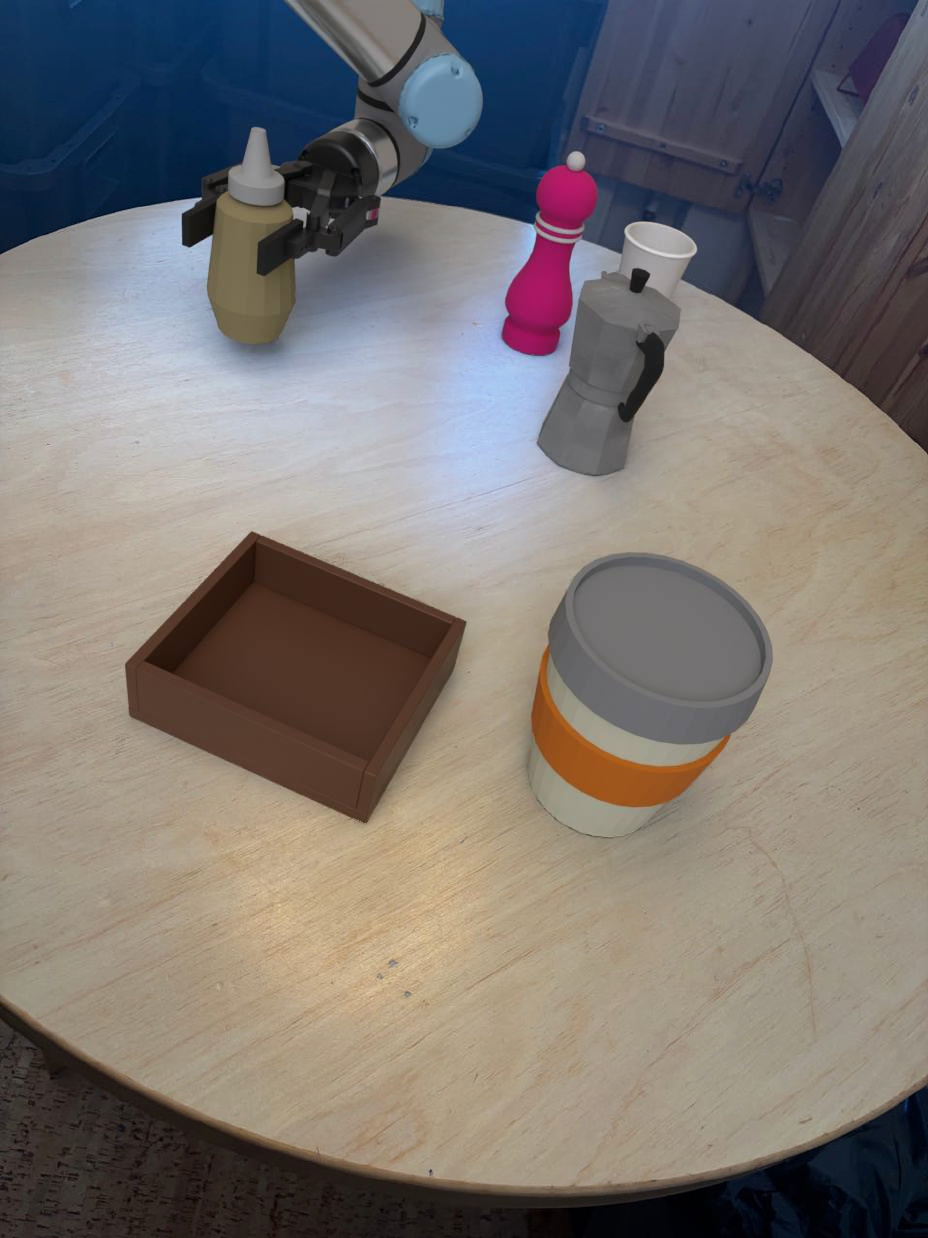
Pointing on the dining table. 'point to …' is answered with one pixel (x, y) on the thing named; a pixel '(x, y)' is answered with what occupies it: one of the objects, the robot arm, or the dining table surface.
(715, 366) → the dining table surface
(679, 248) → the dixie cup
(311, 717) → the brown tray
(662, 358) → the coffeepot
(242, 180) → the squeeze bottle
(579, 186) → the pepper mill
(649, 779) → the reusable coffee cup
